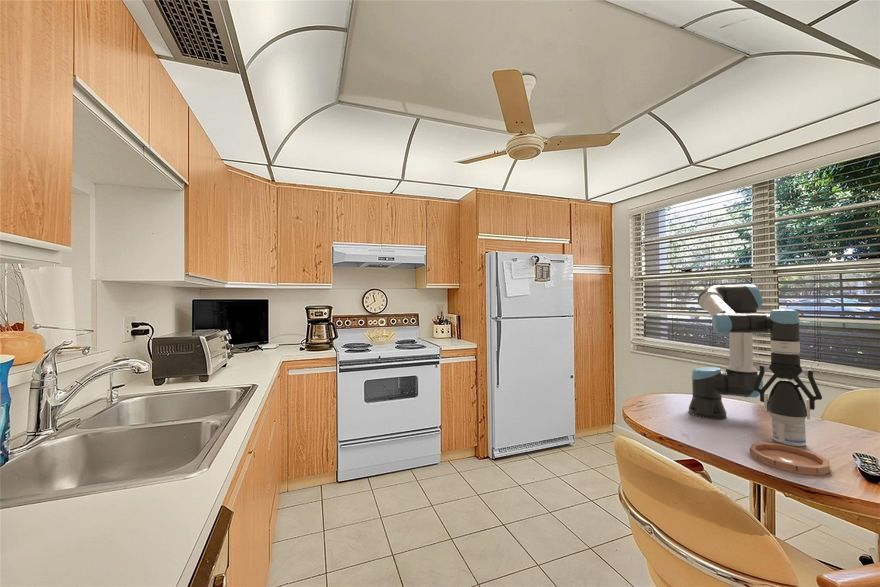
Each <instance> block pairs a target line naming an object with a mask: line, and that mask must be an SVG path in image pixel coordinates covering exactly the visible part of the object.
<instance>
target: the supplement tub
mask: <svg viewBox="0 0 880 587" xmlns="http://www.w3.org/2000/svg"><path fill="white" fill-rule="evenodd" d="M771 426H772V428H771V429H772V439H773V440H774V441H775V442H777V443H778V444H782V445H787V446H791V447H803V446H806V444H807V438H806V437H807V436H806V419H805V420H804V422H803V423H801V424H798V425H787V424H783V423H779V422H777V421H776V420H774V419H773V418H772V417H771Z"/></svg>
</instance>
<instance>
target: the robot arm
mask: <svg viewBox="0 0 880 587" xmlns="http://www.w3.org/2000/svg"><path fill="white" fill-rule="evenodd" d="M697 304H698V306H699V307H700V308H701V309H702V310H704V311H707V312H708V313H709V315H710V316H711V317H712V318H711V326H712V329H713V330H714V332H717V333H724V334H725V333H727V334H728V333H729V334H728V335H729V337H728V338H729V339H728V340H729V341H728V342H729V364H728V365H726V366H725V370H722V369H721V368H720V367H717V366H702V367H701V366H700V367H696V368H693V370H692V372H691V379H692V380H691V382H692V384H691V386H692V387H691V388H692V397H691V401H690V403H689V405H688V412H690V413H689V414H691V413H692V414H691V415H693V414H694V415H693V416H695V415H697V417H699V416H700V417H699V418H703V417H704V419H711V420H724V419H727V410H726V408H725V406H724V403H723V400H722V396H732V397H744V398H758V397H759V401H760V403H763V407H764V408H763V410H764V413H769V411H768V410H767V404H768V398H769V395H768V392H766V391H767V390H768V389H769V388H770V387H771V385H772V384H773V383H774V382H775V380H777V379H781V380H784V379H785V380H790V381H791V380H794V382H795V384H798V385H799V388H800V389H801V390H802V392H803V393H804V394H805V396H806V397H807V398H806V401H805V405H806V409H807V417H806V420H811V411H814V410H815V408H816V402H815V401H819V400H820V401H821V400H823V396H822V393H821V390H820V389H819V387H818V384H817V382H816V380H815V377H814V370H813V369H810V368H809V369H805V368H802V367H801V355H800V354H799V353H801V347H800V346H801V345H800V343H801V342H800V322H801V320H800V316H799V311H797V310H796V309H771V310H770V311H769V313H758V310H760V309H761V308H762V307H763V297H762V294H761V291H760V289H759V288H758V287H757V286H756V285H755V284H724V285H723V284H716V285H711V286H708V287H706V288H705V289H703V290H701V291H700V293H699V294H698V296H697ZM754 334H769V336H770V338H769V339H770V351H771V352H770V364H769V365H763V364H760V365H759V372H758V370H757V368H755V366H754V348H753V347H754V345H753V344H754V343H753V342H754V340H753V339H754V337H753V336H754ZM768 370H770V371H771V372H772V373H773V375H772V376H771V377H770V378H769V379H768V380H767V382H766V383H765V384H764V381H763V380H764V376H765V373H766V372H767V371H768ZM801 373H803V374H804V376H805V377H807V378H808V381H809V383H810V386H811V388H812V389H813V390H812V391H813V393H814V394H815V395H813V393H811V391H810V390H809V389H808V387H807V386H806V384H805V383H804V382H803V381H802V380H801V378H800V377H799V376H800V375H801Z"/></svg>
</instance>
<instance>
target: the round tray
mask: <svg viewBox="0 0 880 587" xmlns="http://www.w3.org/2000/svg"><path fill="white" fill-rule="evenodd" d="M749 453H750V456H751V457H752V458H754V459H755V460H756V461H758V462H760V463H762V464H764V465H766V464H767V465H766V466H770V467H772V468H774V469H779V470H781V471H785V472H790V473H794V474H799V475H800V474H801V475H806V474H807V476H824V474H825V475H828V474H830V472H831V471H830V468H831V467H830V464H831V463H830V460H828V459H826V458H824V457H823V456H822V455H820V454H817V453H815V452H812V451H809V450H806V449H803V448H800V447H797V446H791V445H786V444H782V443H771V442H755V443H754V442H753V443H751V444H750V446H749ZM829 471H830V472H829ZM827 473H828V474H827Z"/></svg>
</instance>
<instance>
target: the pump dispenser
mask: <svg viewBox="0 0 880 587" xmlns="http://www.w3.org/2000/svg"><path fill="white" fill-rule="evenodd" d="M799 388H800V387H799V385H798V384H797V383H794V382H792V381H791V380H789V379H781V380H778V381H776V383H775V384H774V385H773V386H772V389H771V391H770V393H769V395H768V404H767V410H768V414H769V415H770V417H771V419H772V418H773V419H774V420H776V421H777V422H779V423H783V424H787V425H798V424H801V423H803V422H804V420H805V421H806V419H807V405H806V401H805V400H804V399H805V398H804V397H803V395H802V392H801V391H800V389H799Z"/></svg>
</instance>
